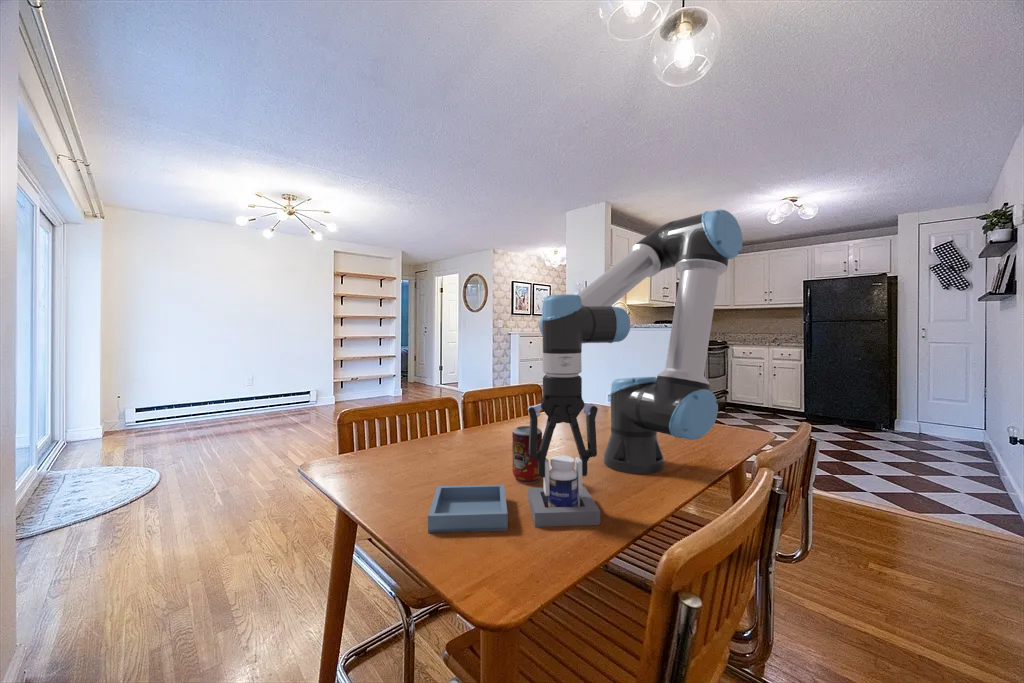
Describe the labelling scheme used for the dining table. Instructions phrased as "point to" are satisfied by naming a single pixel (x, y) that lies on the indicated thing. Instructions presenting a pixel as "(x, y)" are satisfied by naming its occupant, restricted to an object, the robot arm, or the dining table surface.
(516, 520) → the dining table surface
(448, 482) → the dining table surface
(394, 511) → the dining table surface
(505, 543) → the dining table surface
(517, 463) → the soda can
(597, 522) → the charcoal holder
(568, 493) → the pill bottle
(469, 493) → the parts tray
